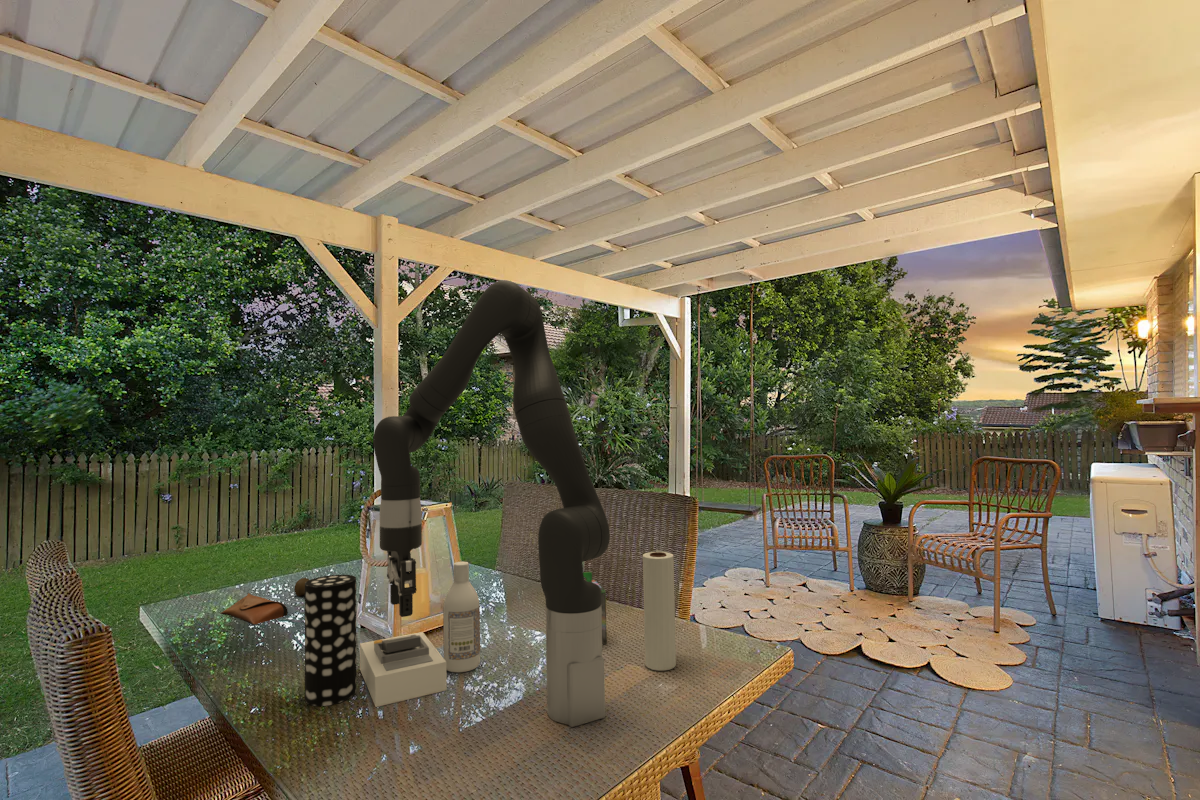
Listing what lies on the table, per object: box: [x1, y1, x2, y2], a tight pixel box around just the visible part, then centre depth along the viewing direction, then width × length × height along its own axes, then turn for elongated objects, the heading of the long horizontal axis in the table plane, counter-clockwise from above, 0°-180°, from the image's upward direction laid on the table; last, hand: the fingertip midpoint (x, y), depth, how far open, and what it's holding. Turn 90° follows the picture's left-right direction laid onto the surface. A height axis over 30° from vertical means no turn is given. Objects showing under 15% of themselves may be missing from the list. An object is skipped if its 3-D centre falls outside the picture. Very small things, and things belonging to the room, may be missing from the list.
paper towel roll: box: [642, 549, 677, 672], centre depth 117 cm, size 7×6×21 cm
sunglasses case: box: [220, 592, 289, 625], centre depth 153 cm, size 18×7×7 cm
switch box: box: [359, 631, 448, 708], centre depth 112 cm, size 18×12×6 cm, turn 30°
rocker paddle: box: [382, 635, 421, 653], centre depth 112 cm, size 5×6×2 cm
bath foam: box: [442, 561, 481, 673], centre depth 118 cm, size 7×7×20 cm
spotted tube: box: [304, 574, 357, 707], centre depth 106 cm, size 8×8×20 cm
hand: (401, 609), depth 112 cm, fingers open, 8 cm apart
